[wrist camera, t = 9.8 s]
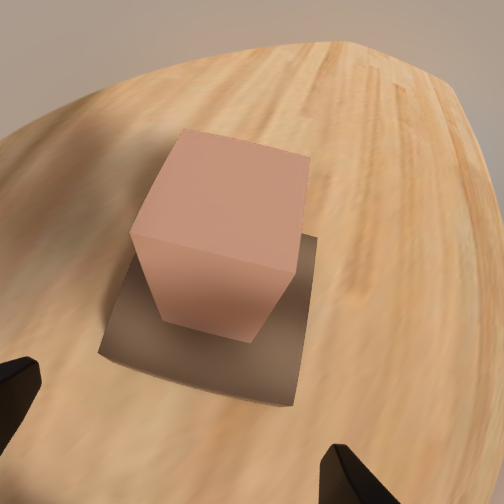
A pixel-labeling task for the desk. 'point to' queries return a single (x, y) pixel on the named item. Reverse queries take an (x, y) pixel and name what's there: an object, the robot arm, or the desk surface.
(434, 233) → the desk surface
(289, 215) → the terracotta block
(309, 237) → the walnut plinth
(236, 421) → the desk surface
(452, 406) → the desk surface
